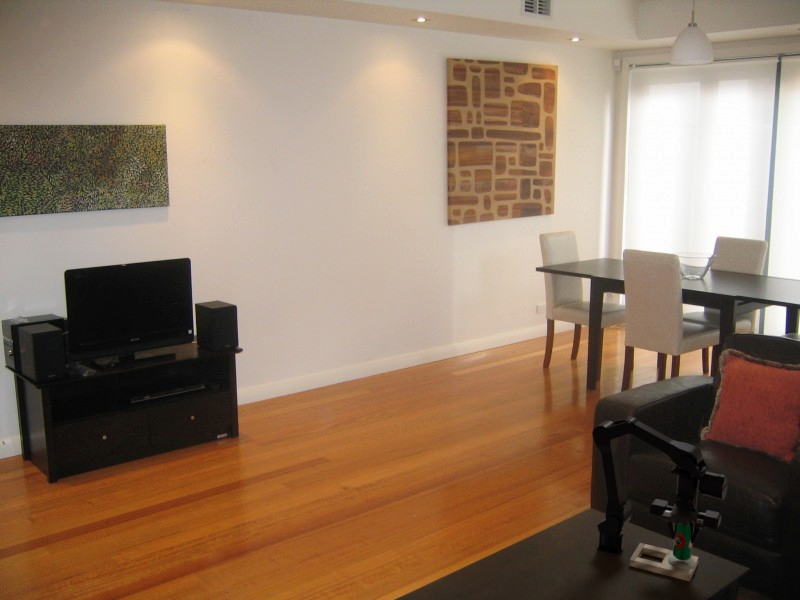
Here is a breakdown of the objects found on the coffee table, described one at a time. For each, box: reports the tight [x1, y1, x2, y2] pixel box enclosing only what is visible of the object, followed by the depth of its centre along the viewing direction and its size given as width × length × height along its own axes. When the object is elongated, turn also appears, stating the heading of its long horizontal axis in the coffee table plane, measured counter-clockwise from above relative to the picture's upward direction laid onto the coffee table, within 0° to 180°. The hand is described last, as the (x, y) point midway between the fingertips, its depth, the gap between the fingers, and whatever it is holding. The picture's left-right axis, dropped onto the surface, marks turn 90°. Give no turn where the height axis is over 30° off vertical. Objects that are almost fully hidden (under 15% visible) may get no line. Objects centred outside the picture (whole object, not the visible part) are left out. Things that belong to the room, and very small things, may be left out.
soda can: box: [672, 521, 695, 560], centre depth 233 cm, size 5×5×12 cm
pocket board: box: [629, 542, 699, 582], centre depth 237 cm, size 17×12×2 cm
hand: (683, 540), depth 234 cm, fingers closed on soda can, 5 cm apart
